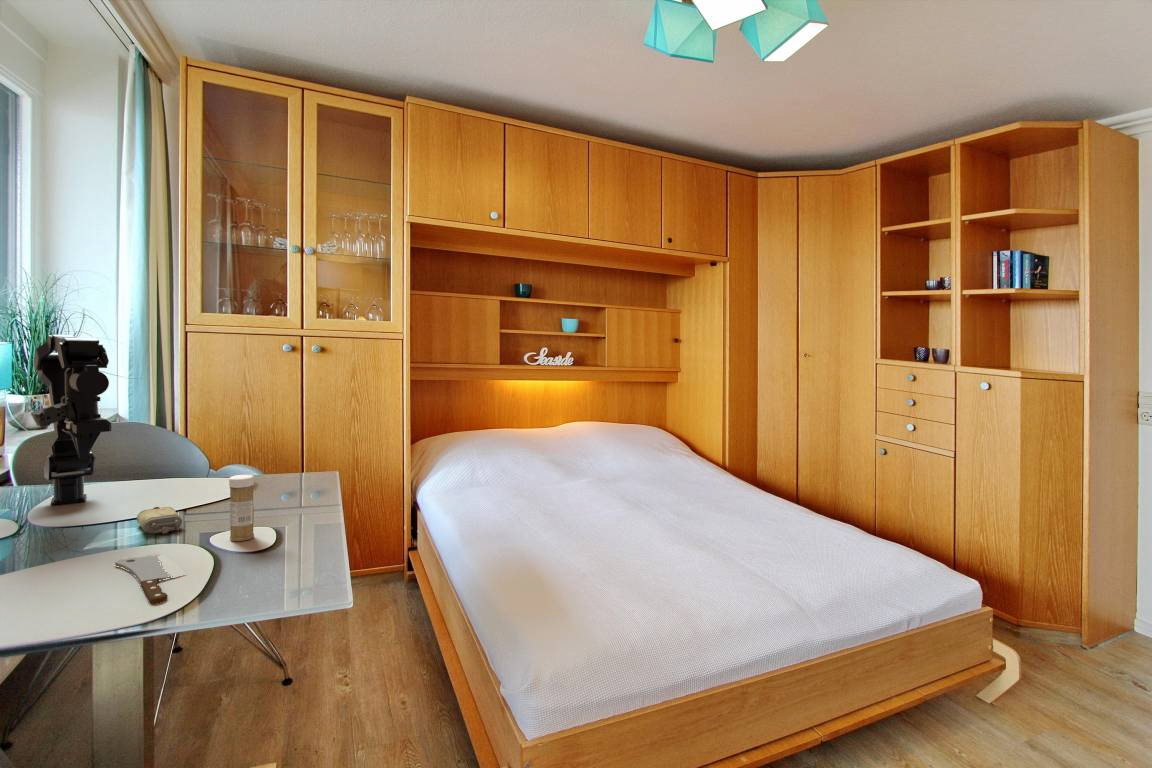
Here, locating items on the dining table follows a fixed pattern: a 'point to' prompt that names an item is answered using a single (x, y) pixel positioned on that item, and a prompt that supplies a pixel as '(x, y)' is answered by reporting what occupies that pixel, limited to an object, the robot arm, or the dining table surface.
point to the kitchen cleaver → (147, 575)
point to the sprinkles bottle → (241, 507)
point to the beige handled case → (159, 520)
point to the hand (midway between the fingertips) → (82, 458)
